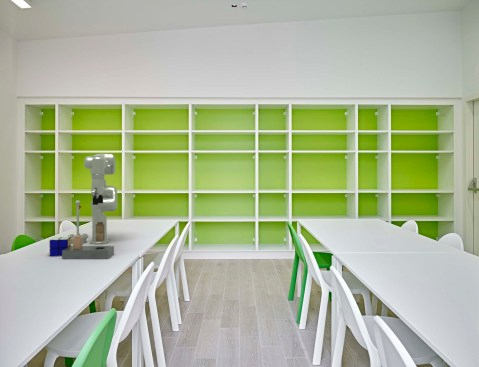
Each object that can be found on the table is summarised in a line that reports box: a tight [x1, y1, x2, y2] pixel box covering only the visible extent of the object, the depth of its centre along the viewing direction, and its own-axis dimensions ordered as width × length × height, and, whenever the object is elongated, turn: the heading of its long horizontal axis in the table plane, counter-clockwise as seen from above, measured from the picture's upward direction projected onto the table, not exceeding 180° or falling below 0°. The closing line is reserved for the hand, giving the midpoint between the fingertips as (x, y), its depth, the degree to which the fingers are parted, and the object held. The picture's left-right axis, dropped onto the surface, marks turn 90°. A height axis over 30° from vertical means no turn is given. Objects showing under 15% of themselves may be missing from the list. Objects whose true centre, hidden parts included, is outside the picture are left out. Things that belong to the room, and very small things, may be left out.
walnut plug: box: [96, 222, 105, 241], centre depth 210 cm, size 4×4×11 cm
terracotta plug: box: [72, 236, 83, 249], centre depth 210 cm, size 4×4×11 cm
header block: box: [61, 245, 115, 260], centre depth 210 cm, size 12×26×5 cm, turn 94°
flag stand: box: [67, 200, 89, 245], centre depth 249 cm, size 13×13×30 cm
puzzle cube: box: [49, 235, 72, 257], centre depth 215 cm, size 10×10×10 cm
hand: (97, 203), depth 222 cm, fingers open, 9 cm apart
